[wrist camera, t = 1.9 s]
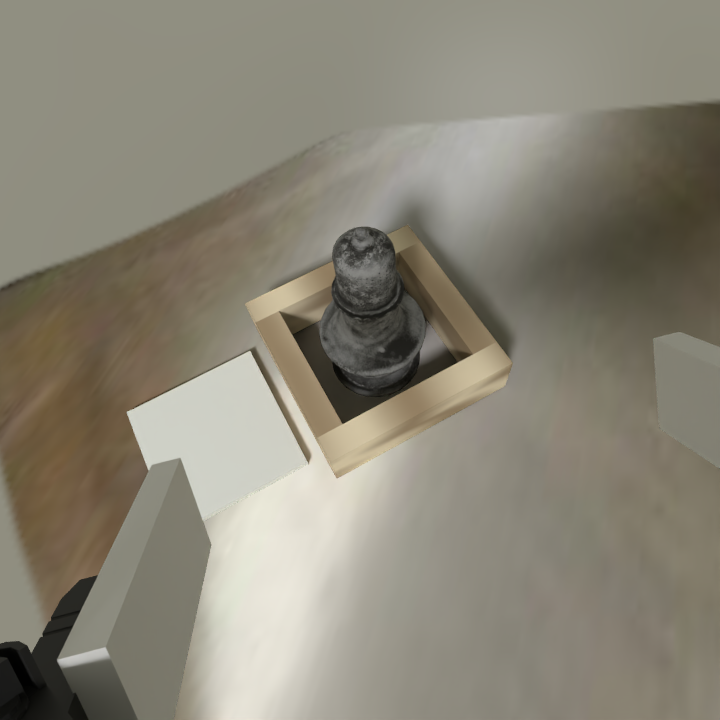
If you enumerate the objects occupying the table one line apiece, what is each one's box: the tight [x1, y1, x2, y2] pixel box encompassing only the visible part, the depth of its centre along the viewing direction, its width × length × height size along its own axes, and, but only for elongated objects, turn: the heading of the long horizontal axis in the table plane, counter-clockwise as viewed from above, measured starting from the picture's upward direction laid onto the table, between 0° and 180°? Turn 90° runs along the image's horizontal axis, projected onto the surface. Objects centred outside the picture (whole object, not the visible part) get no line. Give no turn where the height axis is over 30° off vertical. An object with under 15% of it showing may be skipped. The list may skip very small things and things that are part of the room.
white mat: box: [127, 351, 308, 521], centre depth 34 cm, size 8×8×1 cm
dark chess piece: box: [319, 227, 426, 397], centre depth 30 cm, size 6×6×12 cm
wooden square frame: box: [245, 225, 513, 478], centre depth 34 cm, size 11×11×3 cm
